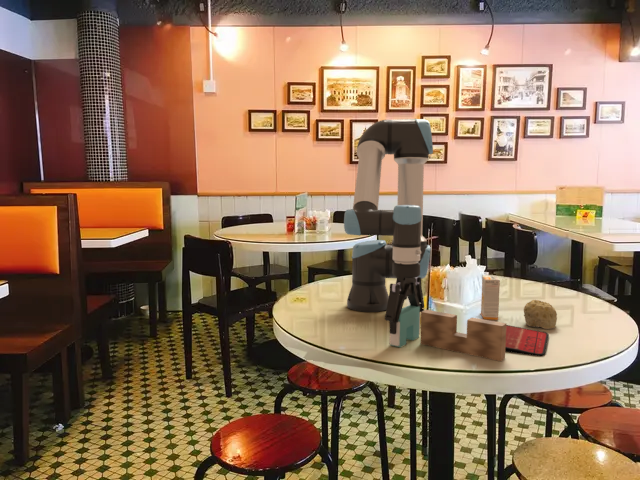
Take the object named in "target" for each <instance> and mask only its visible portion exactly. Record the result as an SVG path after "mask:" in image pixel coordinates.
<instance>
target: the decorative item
mask: <svg viewBox="0 0 640 480" xmlns="http://www.w3.org/2000/svg"><path fill="white" fill-rule="evenodd" d="M523 313H524V314H523V316H524V321H525V324H526V325H527V326H529V327H530V328H532V327H533V328H535V329H537V328H542V329H546V330H552V329H555V328H556V325H557V320H558V316H557V315H558V314H557V311H556V309H555V307H554V306H553V305H552V304H550V303H549V302H546V301H541V300H538V299H532V300H530V301H529V302H526V304H525V305H524V307H523Z"/></svg>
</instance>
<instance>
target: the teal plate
mask: <svg viewBox="0 0 640 480" xmlns="http://www.w3.org/2000/svg"><path fill="white" fill-rule="evenodd" d="M419 312H420V307H419V306H418V307H417V306H412V305H410V304H409V305H407V306H403V307H402V310H401V313H400V317H399V320H398V322H400V345H399V346H395V345H391V344H389V345H390V346H391V347H392V346H393V347H396V348H402V347H404V346H406V345H407V340H409V341H414V340H416V339H418V338H420V335H419ZM420 313H421V312H420Z"/></svg>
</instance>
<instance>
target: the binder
mask: <svg viewBox="0 0 640 480" xmlns="http://www.w3.org/2000/svg"><path fill="white" fill-rule="evenodd" d="M549 337H550V334H549V333H548V332H546V331H541V330H535V329H530V328H525V327H519V326H514V325H510V324H506V347H505V353H511V354H519V355H527V356H533V357H544V356H545V355H546V352H547V346H548V341H549Z"/></svg>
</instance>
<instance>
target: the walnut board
mask: <svg viewBox="0 0 640 480" xmlns="http://www.w3.org/2000/svg"><path fill="white" fill-rule="evenodd" d="M506 325H508V323H506V322H501V321H496V320H488V319H483V318H476V317H470V318H468V319H467V321H466V333H464V332H459V331H457V329H458V328H457V327H458V314H453V313H446V312H442V311H435V310H431V309H424V311H422V312H420V345H423V346H429V347H433V348H437V349H442V350H447V351H451V352H456V353H459V354H460V353H461V354H465V355H470V356H475V357H478V358H483V359H489V360H492V361H493V360H494V361H497V362H502V361H503V360H505V359H506V352H505V351H506V350H505V347H506Z"/></svg>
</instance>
